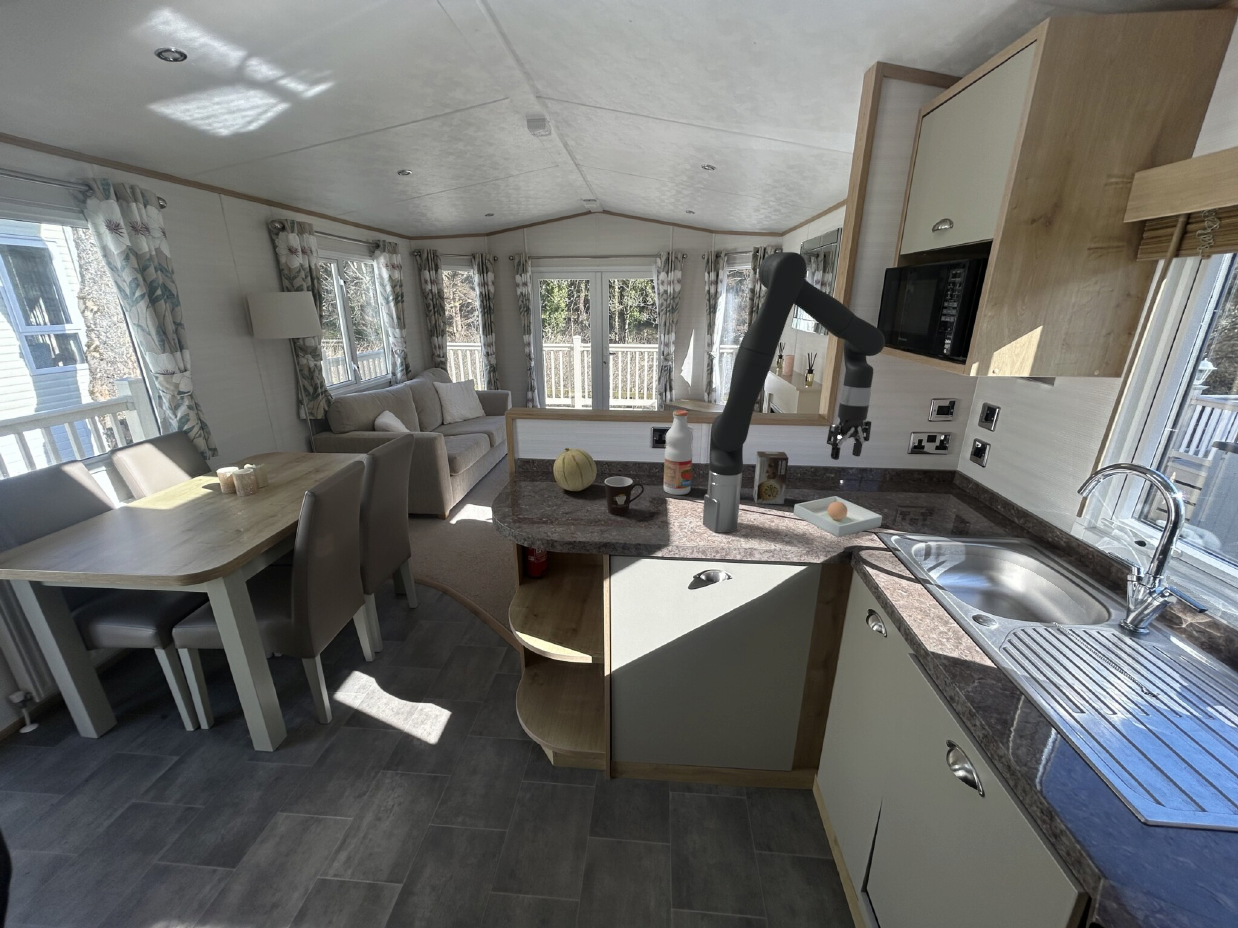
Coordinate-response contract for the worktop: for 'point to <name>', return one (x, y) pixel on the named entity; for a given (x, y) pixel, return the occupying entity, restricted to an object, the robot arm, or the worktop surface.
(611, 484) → the coffee mug
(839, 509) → the terracotta ball
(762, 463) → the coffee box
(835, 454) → the robot arm
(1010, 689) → the worktop surface
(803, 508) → the tray
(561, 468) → the cantaloupe
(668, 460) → the fruit juice
